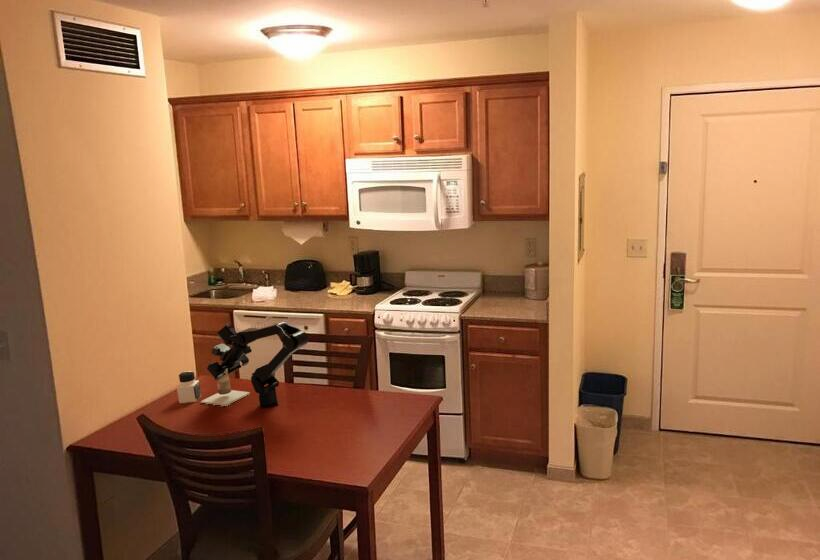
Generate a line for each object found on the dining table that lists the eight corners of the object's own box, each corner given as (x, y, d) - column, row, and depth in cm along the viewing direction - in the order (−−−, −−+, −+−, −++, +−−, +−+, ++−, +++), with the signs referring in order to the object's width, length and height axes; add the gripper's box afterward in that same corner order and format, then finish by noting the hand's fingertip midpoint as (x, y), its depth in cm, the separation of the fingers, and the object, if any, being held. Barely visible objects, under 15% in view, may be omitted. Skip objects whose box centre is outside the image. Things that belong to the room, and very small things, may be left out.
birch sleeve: (234, 390, 275) (229, 365, 274) (224, 395, 271) (220, 369, 269) (225, 389, 278) (220, 364, 276) (215, 394, 274) (211, 368, 272)
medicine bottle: (196, 402, 275) (191, 374, 273) (179, 403, 275) (174, 376, 273) (201, 395, 282) (197, 369, 280) (185, 397, 282) (180, 370, 280)
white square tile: (250, 394, 278) (249, 392, 278) (226, 406, 266) (225, 404, 266) (225, 391, 285) (225, 389, 284) (201, 403, 273) (200, 401, 273)
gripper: (239, 332, 276) (224, 356, 284) (206, 345, 261) (190, 370, 268) (256, 351, 274) (240, 374, 281) (224, 365, 258) (208, 390, 266)
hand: (220, 376), depth 274 cm, fingers closed on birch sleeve, 5 cm apart
